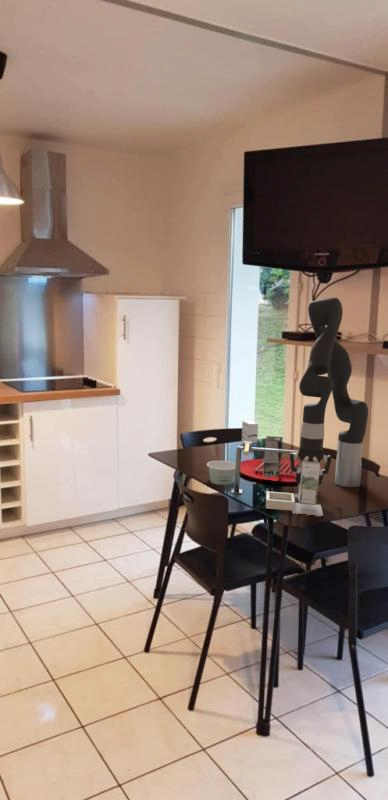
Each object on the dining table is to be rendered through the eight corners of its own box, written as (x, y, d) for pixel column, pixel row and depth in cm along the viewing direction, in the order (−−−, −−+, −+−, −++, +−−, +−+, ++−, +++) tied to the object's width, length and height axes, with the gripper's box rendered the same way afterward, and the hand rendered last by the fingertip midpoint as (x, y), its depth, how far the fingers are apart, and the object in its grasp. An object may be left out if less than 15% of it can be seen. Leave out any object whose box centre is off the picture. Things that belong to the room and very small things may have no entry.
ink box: (257, 448, 289) (258, 423, 287) (247, 448, 287) (248, 423, 285) (250, 443, 297) (251, 419, 295) (240, 444, 295) (242, 420, 293)
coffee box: (279, 482, 237) (281, 441, 234) (262, 480, 238) (264, 440, 235) (280, 475, 245) (283, 436, 243) (264, 474, 247) (266, 435, 244)
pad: (320, 506, 211) (320, 504, 211) (322, 516, 202) (323, 514, 201) (291, 504, 212) (291, 502, 212) (292, 514, 203) (292, 512, 203)
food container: (213, 487, 227) (214, 470, 226) (201, 477, 238) (202, 461, 237) (242, 484, 232) (243, 468, 231) (229, 475, 243) (230, 459, 242)
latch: (251, 445, 221) (252, 441, 220) (250, 456, 206) (250, 451, 206) (243, 445, 221) (243, 440, 221) (241, 455, 206) (241, 451, 206)
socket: (293, 501, 215) (293, 493, 215) (294, 510, 206) (294, 502, 205) (266, 499, 216) (266, 491, 216) (265, 508, 207) (266, 499, 206)
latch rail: (306, 496, 222) (309, 450, 219) (306, 499, 218) (310, 453, 215) (231, 490, 225) (234, 445, 222) (230, 493, 221) (233, 447, 218)
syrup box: (314, 499, 209) (317, 458, 207) (316, 505, 204) (320, 463, 201) (297, 498, 210) (300, 457, 207) (299, 504, 204) (302, 462, 201)
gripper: (333, 434, 205) (329, 482, 208) (290, 431, 207) (286, 479, 210) (335, 439, 198) (331, 489, 201) (290, 436, 200) (286, 485, 203)
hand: (308, 484), depth 206 cm, fingers closed on syrup box, 6 cm apart
